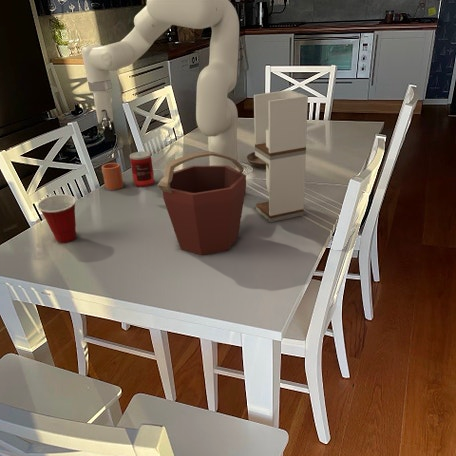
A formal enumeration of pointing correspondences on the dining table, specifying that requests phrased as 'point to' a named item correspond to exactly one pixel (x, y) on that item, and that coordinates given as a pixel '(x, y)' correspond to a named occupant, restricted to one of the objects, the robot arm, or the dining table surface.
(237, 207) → the bucket
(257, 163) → the plant saucer
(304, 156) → the tall white stacked tower
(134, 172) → the canned food
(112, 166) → the pot
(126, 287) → the dining table surface
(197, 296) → the dining table surface
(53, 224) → the plastic cup
